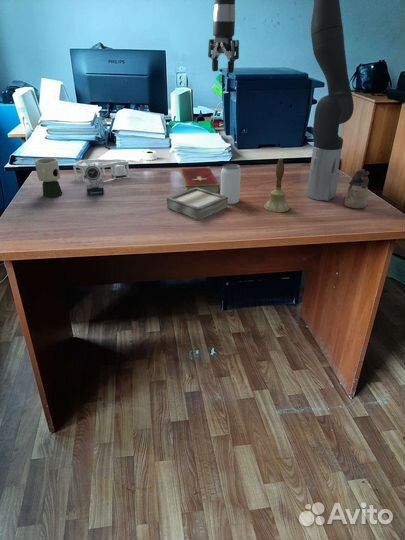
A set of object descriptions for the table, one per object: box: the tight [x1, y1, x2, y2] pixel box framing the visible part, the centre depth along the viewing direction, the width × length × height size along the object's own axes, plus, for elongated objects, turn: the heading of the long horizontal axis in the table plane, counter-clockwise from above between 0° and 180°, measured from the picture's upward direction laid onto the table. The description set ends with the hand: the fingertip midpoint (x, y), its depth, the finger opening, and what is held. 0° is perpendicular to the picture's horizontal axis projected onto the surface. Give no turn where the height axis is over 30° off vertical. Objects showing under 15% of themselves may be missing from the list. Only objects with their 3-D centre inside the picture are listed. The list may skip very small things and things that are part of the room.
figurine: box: [343, 168, 370, 209], centre depth 131 cm, size 7×7×12 cm
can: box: [220, 163, 242, 205], centre depth 133 cm, size 6×6×12 cm
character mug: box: [34, 157, 63, 199], centre depth 135 cm, size 11×7×13 cm, turn 4°
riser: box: [166, 187, 229, 220], centre depth 130 cm, size 14×14×4 cm
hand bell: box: [263, 158, 290, 213], centre depth 127 cm, size 8×8×16 cm
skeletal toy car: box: [72, 158, 130, 183], centre depth 153 cm, size 20×11×7 cm, turn 92°
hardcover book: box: [179, 166, 220, 194], centre depth 149 cm, size 12×21×4 cm, turn 8°
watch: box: [85, 163, 105, 196], centre depth 138 cm, size 6×8×11 cm
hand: (222, 72), depth 147 cm, fingers open, 8 cm apart
